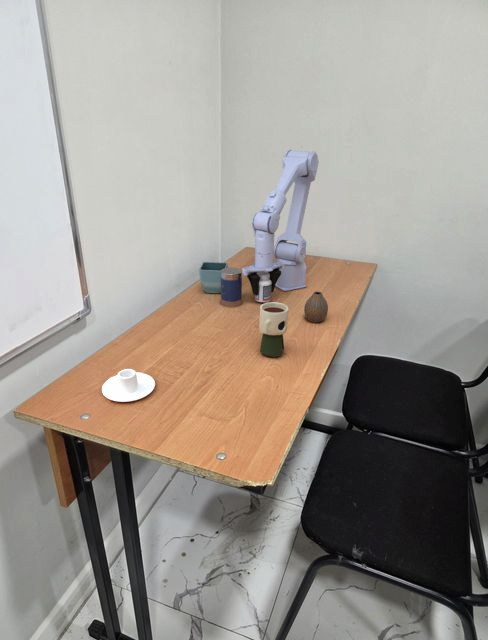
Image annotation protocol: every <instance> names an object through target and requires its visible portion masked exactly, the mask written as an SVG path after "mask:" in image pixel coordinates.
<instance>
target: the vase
mask: <svg viewBox="0 0 488 640" xmlns="http://www.w3.org/2000/svg"><path fill="white" fill-rule="evenodd" d="M303 311H304V316H305V318H306V320H308V321H309V322H310V323H314V324H318V323H322V322H323V321H324V320H325V319H326V318H327V315H328V313H329V305H328V302H327V299H326V298H325V297H324V296H323V293H322V292H321V291H317V290H316V291H313V293H312V294H311V296H309V298H308V299H307V300H306V302H305V304H304V309H303Z"/></svg>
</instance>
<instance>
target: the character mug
mask: <svg viewBox="0 0 488 640" xmlns="http://www.w3.org/2000/svg"><path fill="white" fill-rule="evenodd" d="M288 320H289V307H288V305H287V304H285V303H282V302H279V301H278V302H277V301H269V302H263V304H260V306H259V321H258V325H259V326H258V327H259V328H258V329H259V332H261V333H262V336H261V341H260V346H259V347H260V348H259V351H260V353H261V354H263V355H266V356H268V357H272V358H277V357H281V356H283V353H284V351H285V344H284V343H285V342H284V334H286V333H287V331H288V327H289V326H288V322H289V321H288Z"/></svg>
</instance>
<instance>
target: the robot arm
mask: <svg viewBox="0 0 488 640" xmlns="http://www.w3.org/2000/svg"><path fill="white" fill-rule="evenodd" d="M319 163H320V162H319V156H318V154H317V152H316V151H314V150H312V151H306V150H292V149H287V150H286V152H285V153H284V155H283V158H282V171H281V174H280V176H279V179H278V182H277V185H276V187H275V189H274V190H271V191H269V193H268V195H267V197H266V199H265V201H264V202H263V205H262V207H261V209H260V210H259V211H258V212H256V213H254V215H253V217H252V221H251V228H252V230H253V236H254V237H255V238H254V240H255V244H254V246H255V247H254V263H253V264H252V265H248V266H246V267H242V268H241V270H242V276H245V277H247V279H248V282H249V284H250V287H251V291H252V294H253V295H254V296H255V295H256V296H257V295H258V286H259V281H260V278H261V277H259V276H258V273H260V272H268V273H269V274H270V280H271V282H272V286H271V293H273V292H274V290H275V287H276V288H278V289H279V290H281V291H283V292H288V291H293V290H298V289H304V288H307V285H306V279H307V264H306V263H305V261H304V260H305V258H306V255H307V241H306V240H305V238H304V237H303V236H302V234H301V232H302V227H303V222H304V218H305V213H306V208H307V203H308V199H309V193H310V188H311V183H312V182H314V181H315V180H316V177H317V172H318V167H319ZM293 184H294V186H293ZM292 186H293V192H292V197H291V201H290V206H289V212H288V218H287V222H286V227H285V231H284V232H283V233H282V234H280V235H279V236H278V237H277V240H276V243H275V233H276V232H277V230H278V229H279V225H280V220H281V213H282V211H283V209H284V207H285V206H286V203H287V197H286V195H287V193H289V191H290V189H291V187H292ZM274 259H276V261H274Z"/></svg>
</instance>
